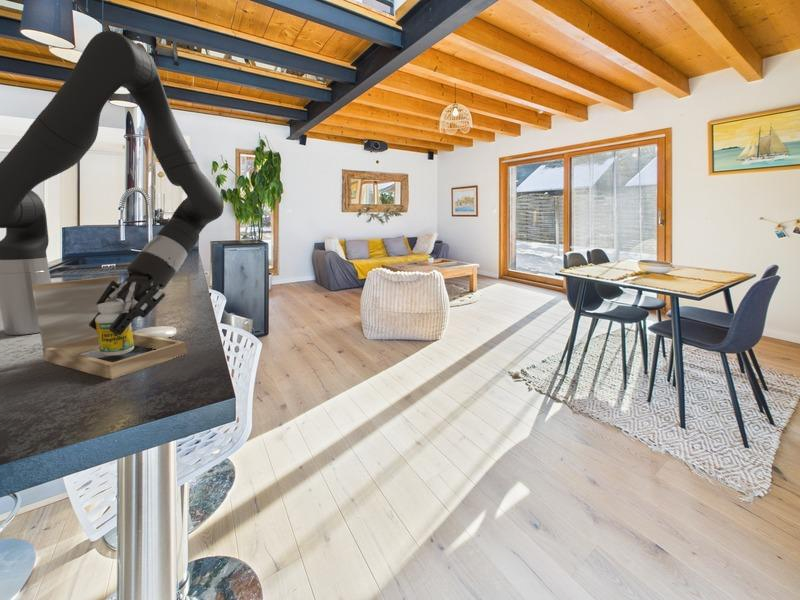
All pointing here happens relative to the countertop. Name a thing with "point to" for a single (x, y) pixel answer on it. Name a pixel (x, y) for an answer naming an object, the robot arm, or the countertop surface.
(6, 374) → the countertop surface
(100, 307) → the supplement bottle
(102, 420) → the countertop surface
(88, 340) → the cold frame
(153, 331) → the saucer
